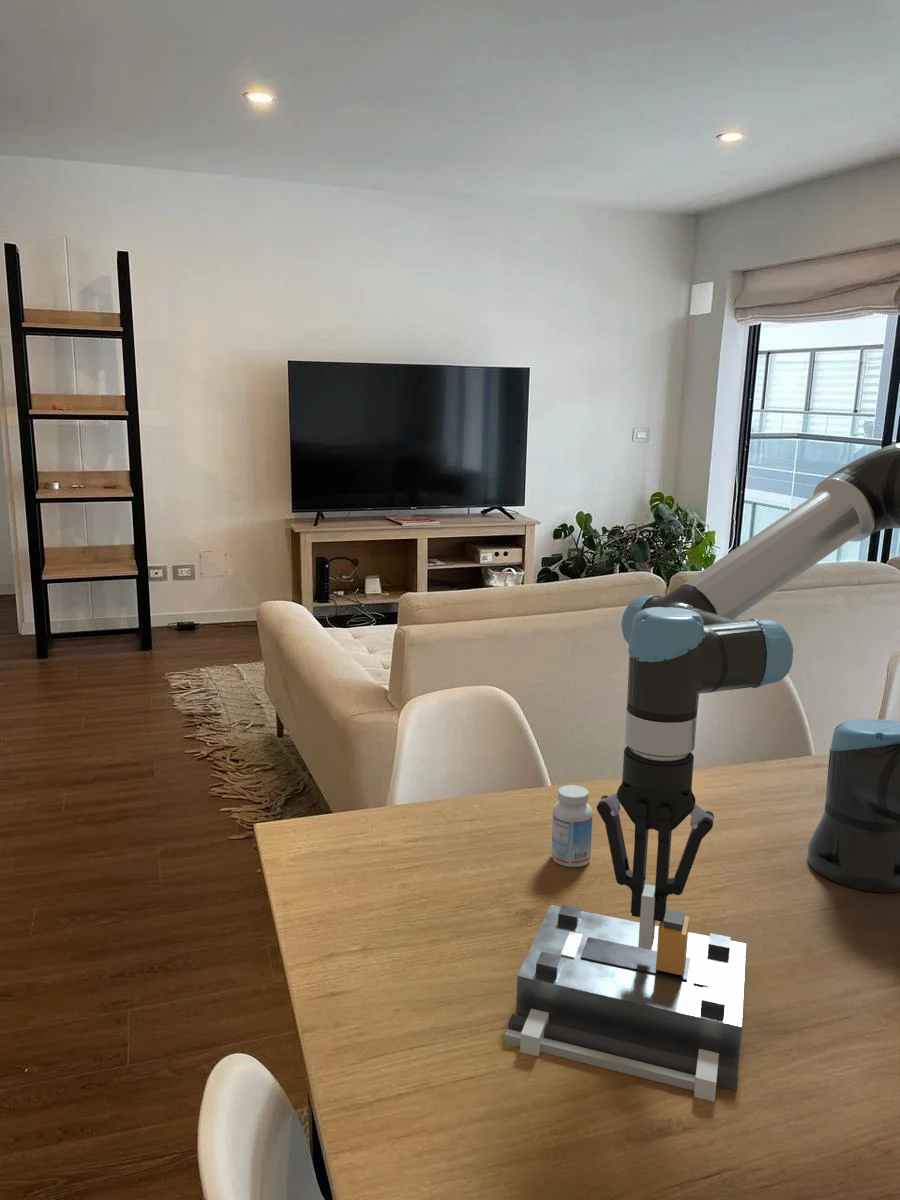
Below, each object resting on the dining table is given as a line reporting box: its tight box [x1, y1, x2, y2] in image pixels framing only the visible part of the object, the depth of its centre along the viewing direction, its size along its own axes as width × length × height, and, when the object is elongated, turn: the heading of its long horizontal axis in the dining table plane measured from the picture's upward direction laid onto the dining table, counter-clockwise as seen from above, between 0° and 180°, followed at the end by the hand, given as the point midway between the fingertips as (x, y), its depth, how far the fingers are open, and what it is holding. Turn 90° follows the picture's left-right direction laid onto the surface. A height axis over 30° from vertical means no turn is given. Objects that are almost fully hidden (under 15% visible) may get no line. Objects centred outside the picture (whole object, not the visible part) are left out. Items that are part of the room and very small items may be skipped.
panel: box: [515, 903, 747, 1070], centre depth 103 cm, size 24×16×6 cm, turn 70°
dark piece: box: [503, 1009, 739, 1103], centre depth 103 cm, size 24×26×2 cm
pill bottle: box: [551, 784, 593, 868], centre depth 135 cm, size 6×6×11 cm
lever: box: [656, 908, 690, 975], centre depth 101 cm, size 3×4×6 cm
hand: (646, 942), depth 102 cm, fingers closed
